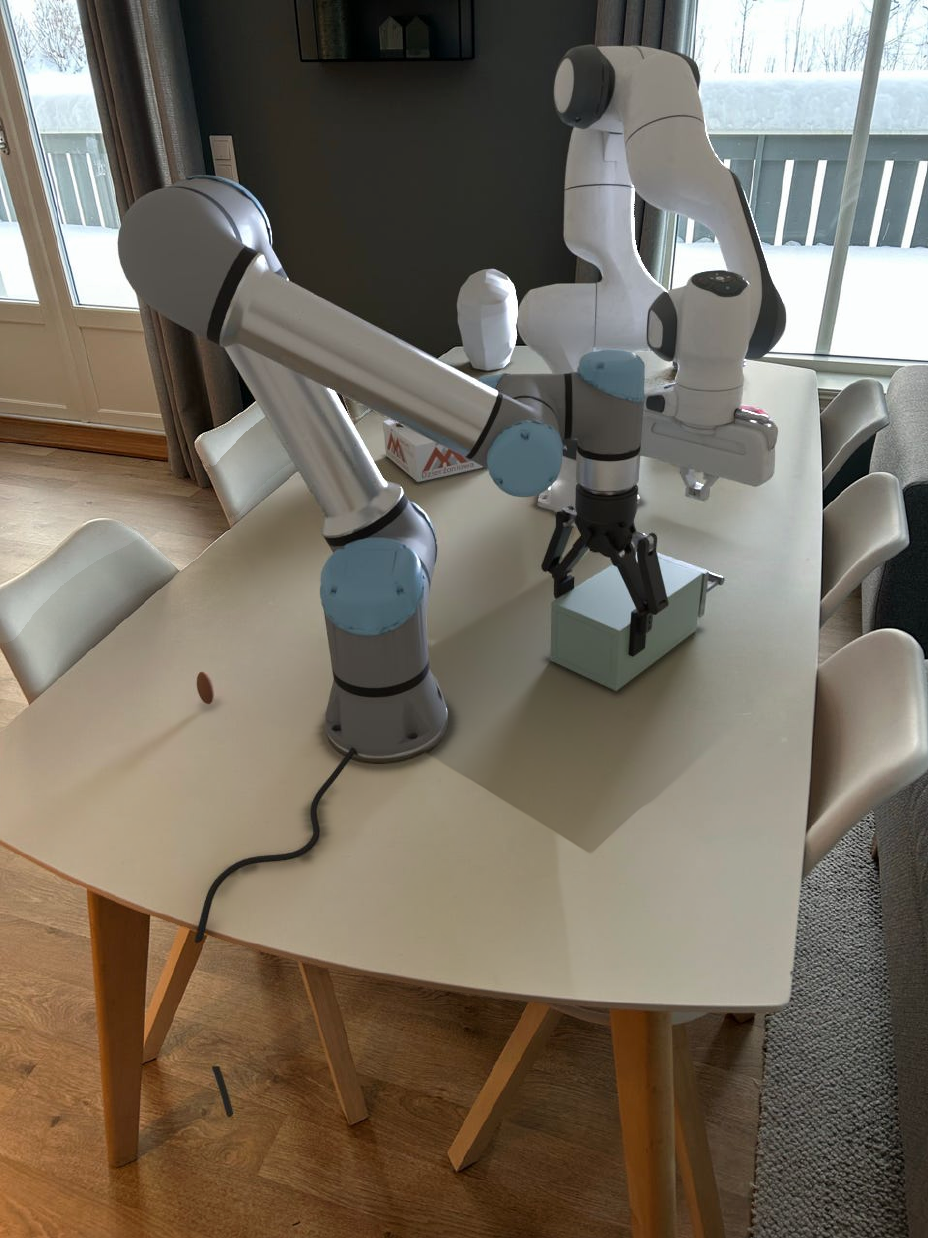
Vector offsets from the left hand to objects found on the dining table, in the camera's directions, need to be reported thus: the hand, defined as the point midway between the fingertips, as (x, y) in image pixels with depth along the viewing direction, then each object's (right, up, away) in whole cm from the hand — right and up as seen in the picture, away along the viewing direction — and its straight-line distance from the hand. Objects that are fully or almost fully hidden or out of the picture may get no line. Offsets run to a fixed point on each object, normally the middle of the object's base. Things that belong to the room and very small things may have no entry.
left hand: (599, 635), depth 121 cm
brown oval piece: (-52, -9, -2) cm, 52 cm away
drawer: (+9, +2, +9) cm, 13 cm away
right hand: (+15, +19, +7) cm, 25 cm away
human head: (-11, +71, +125) cm, 144 cm away
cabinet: (+4, -1, +6) cm, 8 cm away
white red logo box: (-23, +35, +68) cm, 80 cm away
